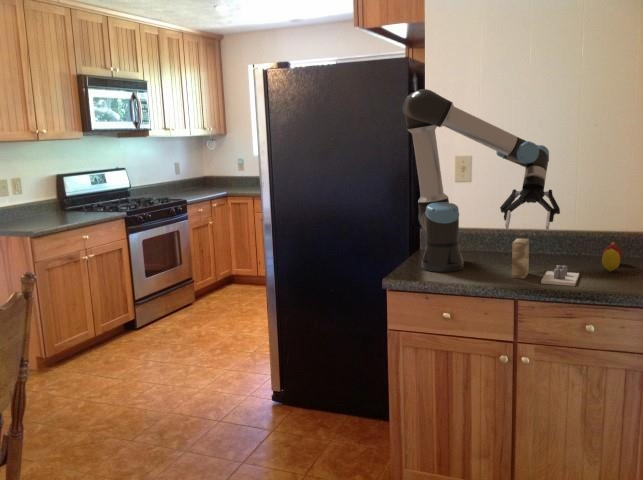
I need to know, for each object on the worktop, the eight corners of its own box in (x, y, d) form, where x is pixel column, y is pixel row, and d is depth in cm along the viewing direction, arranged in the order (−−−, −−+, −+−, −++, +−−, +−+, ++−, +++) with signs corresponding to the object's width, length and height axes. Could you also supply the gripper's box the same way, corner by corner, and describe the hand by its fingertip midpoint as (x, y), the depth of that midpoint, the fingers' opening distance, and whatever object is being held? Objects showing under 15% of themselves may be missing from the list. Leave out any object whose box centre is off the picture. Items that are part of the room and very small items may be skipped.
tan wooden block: (511, 277, 198) (512, 242, 196) (516, 272, 205) (516, 238, 203) (524, 278, 196) (525, 243, 194) (528, 273, 203) (529, 239, 201)
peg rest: (541, 283, 189) (541, 271, 188) (547, 273, 201) (547, 262, 201) (574, 286, 184) (575, 273, 184) (579, 276, 197) (579, 264, 196)
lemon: (621, 273, 198) (622, 250, 196) (603, 273, 199) (604, 250, 197) (616, 269, 203) (618, 246, 202) (599, 269, 204) (600, 246, 203)
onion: (613, 266, 207) (614, 244, 206) (599, 263, 213) (600, 242, 211) (624, 264, 210) (625, 242, 209) (610, 261, 215) (611, 240, 214)
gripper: (571, 188, 215) (565, 235, 204) (501, 187, 226) (492, 232, 216) (570, 174, 209) (564, 222, 199) (498, 174, 221) (489, 220, 210)
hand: (526, 227), depth 207 cm, fingers open, 13 cm apart
